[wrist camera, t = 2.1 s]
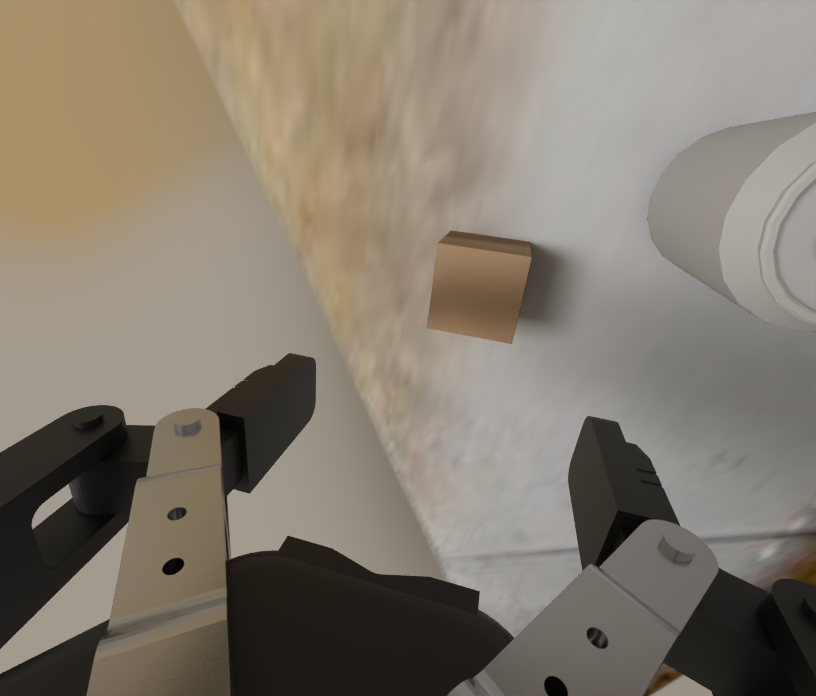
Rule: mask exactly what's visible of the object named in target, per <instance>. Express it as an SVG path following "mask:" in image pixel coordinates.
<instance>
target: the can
mask: <svg viewBox="0 0 816 696" xmlns="http://www.w3.org/2000/svg"><path fill="white" fill-rule="evenodd" d="M647 220H648V225H649V230H650V235H651V239H652V241H653V242H654V244H655V245H656V247H657V249H658V250H659V252H660V253H661V255H662V256H663V257H665V258H666V259H668V260H669V261H670V262H672V263H673V264H675V265H676V266H678V267H679V268H681V269H682V270H684V271H685V272H687V273H688V274H690V275H692V276H693V277H695V278H696V279H698V280H699V281H701V282H703V283H704V284H706V285H707V286H709V287H710V288H712V289H713V290H715V291H717V292H718V293H720V294H721V295H723V296H724V297H726V298H728V299H729V300H731V301H732V302H734V303H735V304H737V305H739V306H740V307H742V308H743V309H745V310H746V311H748V312H750V313H751V314H753V315H754V316H756V317H757V318H759V319H761V320H762V321H764V322H766V323H770V324H773V325H777V326H780V327H783V328H787V329H790V330H794V331H797V332H816V112H813V113H807V114H802V115H796V116H790V117H785V118H779V119H774V120H768V121H763V122H757V123H751V124H746V125H740V126H735V127H729V128H726V129H724V130H721V131H718V132H716V133H713V134H710V135H708V136H705V137H702V138H701V139H699V140H698V141H697V142H695V143H694V144H692V145H691V146H689V147H688V148H687V149H685V150H684V151H682V152H681V153H679V154H678V155H677V157H676V158H675V159H674V160H673V161H672V162H671V164H670V165H669V166H668V167H667V168H666V169H665V171H664V172H663V173H662V174H661V176H660V178H659V180H658V182H657V184H656V186H655V188H654V190H653V193H652V195H651V197H650V203H649V210H648V217H647Z"/></svg>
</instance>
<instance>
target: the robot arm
mask: <svg viewBox="0 0 816 696" xmlns="http://www.w3.org/2000/svg"><path fill="white" fill-rule="evenodd" d="M315 395H316V362H315V359H314V358H311V357H306V356H301V355H297V354H292V353H290V354H288V355H286V356H285V357H284V358H283V359H281V360H280V361H279V362H278V363H276V364H275V365H274V366H273V365H269V366H266V367H263V368H261V369H259V370H256V371H254V372H253V373H251V374H250V375H249V376H248V377H246V378H245V379H244V381H241V382H240V383H238V384H237V385H236V386H235V388H232V389H231V390H229V391H228V392H227V393H225V394H224V395H223V396H222V397H220V398H219V399H218V400H216V401H215V402H214V403H212V404H211V405H210V406H209V407H207V408H206V409H200V408H193V409H185V410H180V411H176V412H174V413H171V414H169V415H167V416H165V417H163V418H162V419H161V420H160V421H159V422H158V423H157V424H156V426H141V425H139V426H138V425H126V422H125V418H124V413H123V411H122V410H121V409H119V408H117V407H114V406H108V405H97V406H90V407H85V408H81V409H78V410H75V411H72V412H69V413H67V414H65V415H63V416H62V417H60V418H58V419H56V420H55V421H53V422H51V423H50V424H48V425H46V426H45V427H43V428H41V429H40V430H38V431H36V432H35V433H33V434H31V435H29V436H28V437H26V438H24V439H23V440H21V441H19V442H18V443H16V444H14V445H12V446H11V447H9V448H7V449H6V450H4V451H2V452H0V649H1V648H2V647H3V646H4V645H5V644H6V643H7V642H8V641H9V640H10V639H11V638H12V637H13V635H15V634H16V632H18V631H19V630H20V629H21V628H22V627H23V626H24V625H25V624H26V623H27V622H28V621H29V620H30V619H31V618H32V617H33V616H34V615H35V614H36V613H37V612H38V611H39V610H40V609H41V608H42V607H43V606H44V605H45V604H46V603H47V602H48V601H49V600H50V599H51V598H52V597H53V596H54V595H55V594H56V593H57V592H58V591H59V590H60V589H61V588H62V587H63V586H64V585H65V584H66V583H67V582H68V581H69V580H70V579H71V578H72V577H73V576H74V575H75V574H76V573H77V572H78V571H79V570H80V569H81V568H82V567H83V566H84V565H85V564H86V563H87V562H89V561H90V560H91V559H92V558H93V557H94V556H95V554H97V553H98V552H99V551H100V550H101V549H102V548H103V547H104V546H105V544H107V543H108V542H109V541H110V540H111V539H112V538H113V537H114V536H115V535H116V534H117V533H118V531H120V530H121V529H122V528H123V527H124V526H125V525H126V524H127V523H128V527H127V532H126V538H125V543H124V548H123V553H122V558H121V564H120V569H119V574H118V579H117V584H116V590H115V595H114V600H113V605H112V610H111V615H110V619H109V620H107V621H105V622H103V623H101V624H99V625H97V626H95V627H93V628H91V629H89V630H87V631H85V632H83V633H81V634H79V635H77V636H75V637H73V638H71V639H69V640H67V641H65V642H63V643H61V644H59V645H57V646H55V647H53V648H51V649H49V650H47V651H45V652H43V653H41V654H39V655H37V656H35V657H33V658H31V659H29V660H27V661H25V662H23V663H21V664H19V665H17V666H15V667H13V668H11V669H10V670H7V671H5V672H3V673H1V674H0V696H643V695H644V693H645V692H646V690H647V689H648V687H649V685H650V684H651V682H652V680H653V679H654V677H655V676H656V674H657V672H658V671H659V669H660V668H661V666H662V664H663V663H665V664H667V665H668V666H670V667H672V668H673V669H675V670H677V671H678V672H680V673H682V674H684V675H685V676H687V677H689V678H690V679H692V680H694V681H696V682H697V683H699V684H701V685H702V686H704V687H706V688H707V689H709V690H711V691H712V694H713V696H816V587H815V586H812V585H810V584H807V583H805V582H802V581H798V580H794V579H780V580H777V581H776V582H775V583H774V584H773V585H772V587H771V588H770V590H769V591H768V592H767V591H765V590H763V589H761V588H758V587H756V586H754V585H752V584H750V583H748V582H746V581H744V580H742V579H739V578H737V577H735V576H733V575H731V574H729V573H727V572H725V571H723V570H722V569H720V568H718V562H717V559H716V557H715V555H714V554H713V552H712V551H711V550H710V548H709V547H708V546H707V545H706V544H705V543H704V542H703V541H702V540H701V539H700V538H698V537H697V536H696V535H694V534H693V533H691V532H690V531H688V530H686V529H685V528H683V527H681V526H680V524H679V522H678V520H677V517H676V515H675V513H674V511H673V509H672V506H671V504H670V502H669V500H668V498H667V495H666V493H665V491H664V489H663V488H662V487H661V485H662V484H661V482H660V480H659V478H658V476H657V475H656V471H655V469H654V467H653V465H652V462H651V460H650V458H649V457H648V456H647V455H646V454H645V453H644V452H643V451H642V450H641V449H640V448H639V447H638V446H637V445H636V444H632V443H627V442H626V441H625V439H624V436H623V434H622V431H621V428H620V426H619V424H618V422H615V421H610V420H606V419H601V418H596V417H591V416H588V417H586V419H585V421H584V423H583V426H582V429H581V432H580V435H579V438H578V441H577V444H576V447H575V450H574V453H573V456H572V459H571V462H570V467H569V474H568V483H569V490H570V496H571V502H572V509H573V515H574V521H575V527H576V534H577V540H578V546H579V552H580V559H581V565H582V572H581V573H580V574H579V575H578V576H577V577H576V578H575V579H574V580H573V581H572V582H571V583H570V584H569V585H568V586H567V587H566V588H565V589H564V590H563V591H562V592H561V593H560V594H559V595H558V596H557V597H556V598H555V599H554V600H553V601H552V602H551V603H550V604H549V605H548V606H547V607H546V608H545V609H544V610H543V611H542V612H541V613H540V614H539V615H538V616H537V617H536V618H534V619H533V620H532V621H531V622H530V623H529V624H528V625H527V626H526V627H525V628H524V629H523V630H522V631H521V632H520V633H519V634H518V635H517V636H516V637H515V638H514V637H513V636H512V635H511V634H510V633H509V632H508V631H507V630H506V629H505V628H503V627H502V626H501V625H500V624H499V623H498V622H497V621H495V620H494V619H492V618H491V617H490V616H488V615H487V614H485V613H484V612H482V611H480V610H479V609H478V604H479V593H480V591H476V590H473V589H470V588H466V587H463V586H459V585H456V584H452V583H449V582H445V581H442V580H438V579H435V578H432V577H421V576H401V575H381V574H375V573H373V572H371V571H369V570H368V569H366V568H364V567H362V566H361V565H359V564H357V563H356V562H354V561H352V560H351V559H349V558H347V557H346V556H344V555H342V554H340V553H339V552H337V551H335V550H334V549H332V548H328V547H325V546H322V545H318V544H315V543H311V542H308V541H304V540H301V539H297V538H294V537H290V536H287V538H286V539H285V541H284V543H283V544H282V546H281V547H280V549H279V551H261V552H255V553H249V554H245V555H242V556H238V557H236V558H233V559H231V550H230V549H231V548H230V532H229V518H228V503H227V495H228V494H229V493H230V492H231V491H232V490H233V489H236V490H239V491H242V492H246V493H250V492H251V491H252V490H253V489H254V487H255V486H256V485H257V484H258V483H259V481H260V480H261V479H262V478H263V477H264V475H265V474H266V473H267V472H268V471H269V469H270V468H271V467H272V466H273V465H274V463H275V462H276V461H277V460H278V459H279V457H280V456H281V455H282V454H283V452H284V451H285V450H286V449H287V447H288V446H289V445H290V444H291V443H292V442H293V440H294V439H295V438H296V437H297V435H298V434H299V433H300V432H301V431H302V429H303V428H304V427H305V426H306V425H307V423H308V422H309V421H310V419H311V417H312V415H313V412H314V408H315V401H316V396H315ZM67 484H69V487H70V490H71V494H72V497H73V498H71V500H69V501H68V502H67V503H65V504H64V505H63V506H61V507H60V508H59V509H58V510H56V511H55V512H54V513H53V514H52V515H50V516H49V517H48V518H46V519H45V520H44V521H43V522H42V523H40V524H39V525H38V526H36V527H35V528H34V529H33V530H32V525H31V524H32V519H33V516H34V514H35V512H36V511H37V509H38V508H39V507H40V506H41V505H42V503H44V502H45V501H46V500H48V499H49V498H50V497H51V496H53V495H54V494H55V493H57V492H58V491H59V490H60V489H62V488H63V487H65V486H66V485H67Z"/></svg>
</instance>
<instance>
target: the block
mask: <svg viewBox="0 0 816 696" xmlns="http://www.w3.org/2000/svg"><path fill="white" fill-rule="evenodd" d="M531 259H532V255H531V248H530V242H527V241H520V240H513V239H506V238H499V237H492V236H485V235H478V234H471V233H464V232H457V231H450V232H449V233H448V234H447V235H446V236H445V237H444V238H443V239H442V240H441V241H440V242H439V243H438V248H437V255H436V263H435V270H434V278H433V286H432V293H431V301H430V308H429V316H428V324H427V328H430V329H435V330H440V331H446V332H451V333H456V334H462V335H467V336H472V337H478V338H483V339H488V340H494V341H499V342H505V343H510V344H512V342H513V337H514V333H515V329H516V324H517V320H518V315H519V311H520V307H521V302H522V298H523V294H524V289H525V285H526V280H527V276H528V272H529V267H530V263H531Z"/></svg>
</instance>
